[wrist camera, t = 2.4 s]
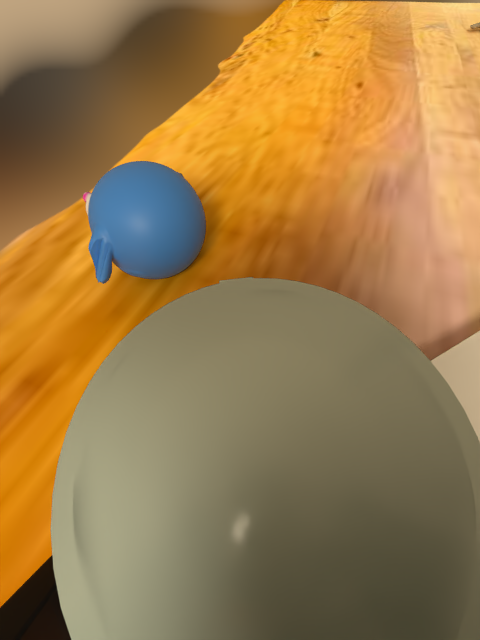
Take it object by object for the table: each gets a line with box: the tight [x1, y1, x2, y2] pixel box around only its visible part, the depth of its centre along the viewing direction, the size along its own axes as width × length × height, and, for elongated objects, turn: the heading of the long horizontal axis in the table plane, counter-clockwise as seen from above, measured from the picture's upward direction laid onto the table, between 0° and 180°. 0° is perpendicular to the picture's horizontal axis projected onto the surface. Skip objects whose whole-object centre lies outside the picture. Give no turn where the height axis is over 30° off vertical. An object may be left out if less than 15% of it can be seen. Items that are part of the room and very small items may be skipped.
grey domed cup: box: [51, 277, 480, 640], centre depth 10 cm, size 9×7×13 cm
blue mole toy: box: [83, 161, 206, 284], centre depth 21 cm, size 12×12×8 cm
